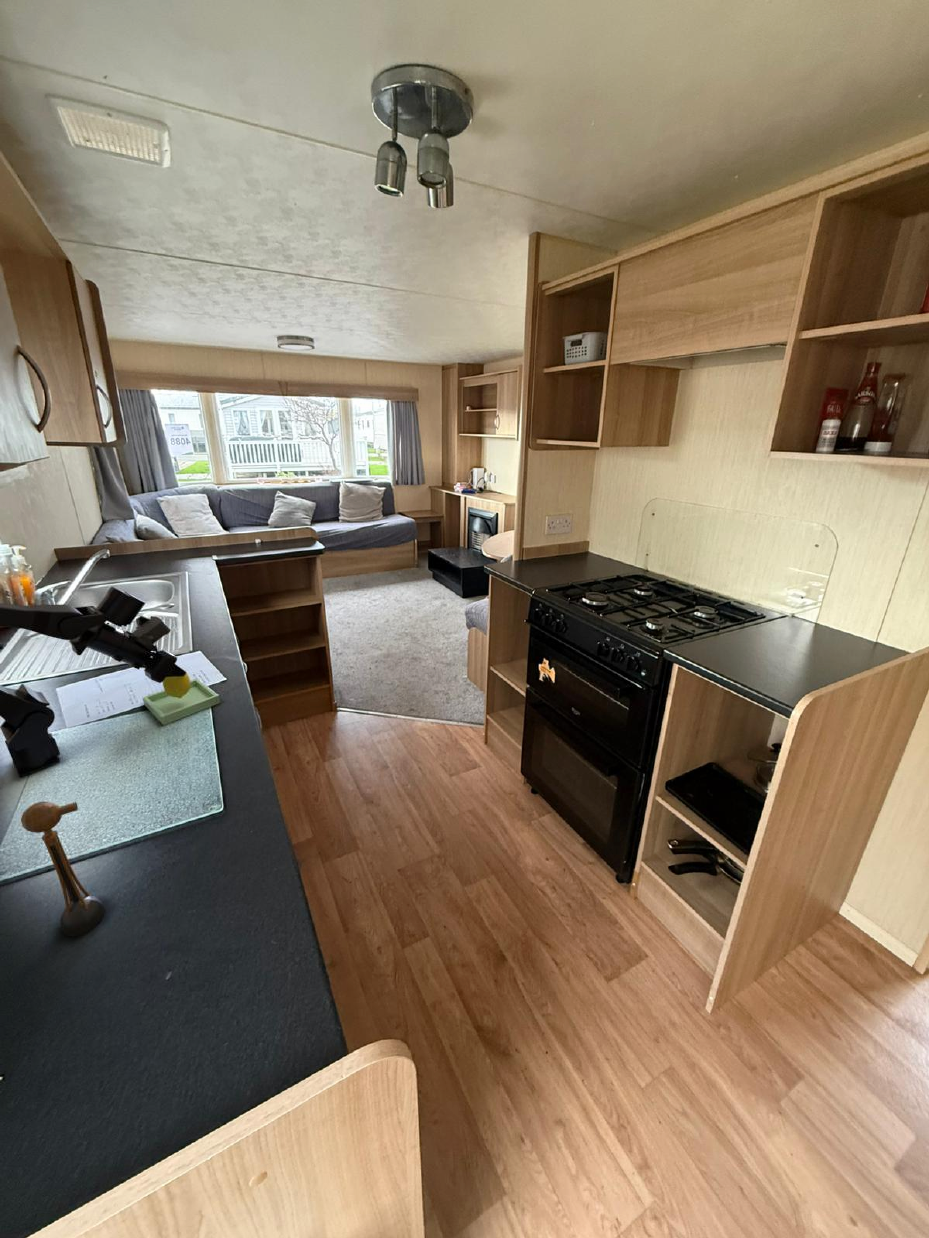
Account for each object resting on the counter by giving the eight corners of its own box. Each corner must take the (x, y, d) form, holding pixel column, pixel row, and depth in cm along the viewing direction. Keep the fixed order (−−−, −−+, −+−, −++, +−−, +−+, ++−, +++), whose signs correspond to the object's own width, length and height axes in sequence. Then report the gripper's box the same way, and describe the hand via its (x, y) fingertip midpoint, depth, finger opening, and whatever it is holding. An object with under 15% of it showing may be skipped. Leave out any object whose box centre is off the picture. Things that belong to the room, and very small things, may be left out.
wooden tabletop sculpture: (114, 894, 72) (73, 783, 65) (114, 919, 68) (70, 804, 61) (64, 914, 69) (14, 800, 62) (60, 942, 66) (7, 824, 58)
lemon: (189, 689, 122) (182, 660, 119) (196, 698, 118) (189, 668, 115) (164, 697, 119) (156, 667, 116) (170, 706, 115) (162, 675, 112)
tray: (163, 725, 112) (161, 717, 111) (144, 705, 120) (142, 697, 119) (220, 702, 120) (218, 695, 120) (199, 685, 128) (197, 678, 127)
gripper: (157, 620, 101) (220, 651, 114) (121, 601, 112) (182, 631, 124) (123, 669, 99) (191, 695, 111) (90, 644, 109) (155, 671, 122)
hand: (180, 671), depth 117 cm, fingers closed on lemon, 4 cm apart
